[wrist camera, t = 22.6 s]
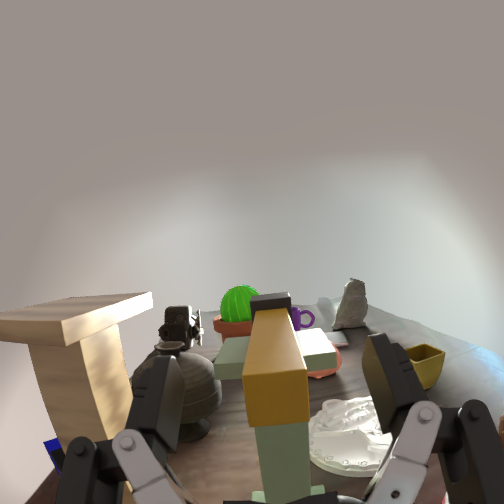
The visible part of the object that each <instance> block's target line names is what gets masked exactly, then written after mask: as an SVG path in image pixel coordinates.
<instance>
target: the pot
mask: <svg viewBox="0 0 504 504" xmlns="http://www.w3.org/2000/svg"><path fill="white" fill-rule="evenodd" d="M183 347H185V344H184V342H182V341H177V342H174V341H167V342H162V343H159V344H157V345H155V346H154V348H155V350H157V351H159V352H160V353H161V354H160V355H157V356H171V355H173V356H174V357H175V358H176V361H177V363H178V365H179V367H180V369H181V372H182V374H183V376H184V379H185V394H184V401H183V407H182V414H181V420H180V427H179V434H178V441H177V442H191V441H195V440H198V439H200V438H202V437H204V436H205V435H206V434H208V432H209V430H210V425H209V423H208V421H207V420H206V419H204V418H203V417H206V416H208V415H209V414H211V413H212V412H214V411H215V410H217V409H218V408H219V406H220V405H221V401H222V400H221V398H222V390H221V381H220V380H215V374H214V367H213V363H212V362H211V361H209V360H208V359H206V358H204V357H202V356H200V355H198V354H194V353H188V352H180V351H181V349H182V348H183ZM155 357H156V356H154V357H152V358H150V359H148V360H146V361H145V362H143V363H142V365H140V366H139V367H138V369H137V370H136V371H135V373H134V375H133V377H132V391H133V397H134V393H135V389H136V386H137V382H138V379H139V376H140V375H141V374H142V372H143V371H144V370H145V368H152V366H153V362H154V359H155Z"/></svg>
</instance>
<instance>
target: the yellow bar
mask: <svg viewBox="0 0 504 504" xmlns="http://www.w3.org/2000/svg"><path fill="white" fill-rule="evenodd" d="M250 311H251V320H252V331H251V336H250V341H249V345H248V350H247V354H246V359H245V364H244V368H243V373H242V381H243V389H244V396H245V403H246V410H247V416H248V423H249V427H261V426H274V425H284V424H293V423H301V422H309V421H310V409H309V391H308V374H307V367H306V364H305V361H304V358H303V355H302V352H301V349H300V346H299V344H298V341H297V338H296V335H295V332H294V328H293V317H292V306H291V297H290V295H289V293H288V292H282V293H273V294H265V295H255V296H252V297H251V299H250Z"/></svg>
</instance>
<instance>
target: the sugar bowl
mask: <svg viewBox="0 0 504 504" xmlns="http://www.w3.org/2000/svg"><path fill="white" fill-rule="evenodd" d="M329 342H330V343H331V344H332V346H333V347H334V349H335V350H336V353H337V368H332V369H325V370H319V371H312V372H307V374H308V376H311V377H315V378H321V377H323V376H328V375H331V374H333V373H335V372H336V371H337V370H338V369H339V368H340V366H341V364H342V359H341V356H340V353H339V351H338V349H337V348H336V347H335V345H334V344H333V343H332V342H331V341H329Z"/></svg>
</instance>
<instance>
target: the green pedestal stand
mask: <svg viewBox="0 0 504 504" xmlns="http://www.w3.org/2000/svg"><path fill="white" fill-rule="evenodd" d="M294 332H295V335H296V338H297V341H298V344H299V346H300V349H301V352H302V355H303V358H304V361H305V364H306V367H307V372H312V371H319V370H325V369H332V368H337V353H336V350H335V349H334V347H333V346H332V344H331V343H330V342H329V340H328V339H327V337H326V336H325V334H324V333H323V332H322V330H321V329H320V328H316V329H309V330H301V331H294ZM249 341H250V336H245V337H233V338H226V339H225V341H224V343H223V345H222V347H221V349H220V351H219V353H218V355H217V357H216V359H215V361H214V363H213V367H214V374H215V380H230V379H242V373H243V368H244V364H245V359H246V354H247V350H248V345H249ZM254 428H255V435H256V442H257V449H258V455H259V462H260V469H261V476H262V482H263V489H264V491H255V492H252V499H251V501H256V502H262V503H268V504H286V503H289V502H292V501H295V500H298V499H301V498H304V497H307V496H310V495H317V494H324V493H325V490H324V485H318V486H311V485H310V449H309V425H308V422H301V423H293V424H284V425H274V426H261V427H254Z"/></svg>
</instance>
